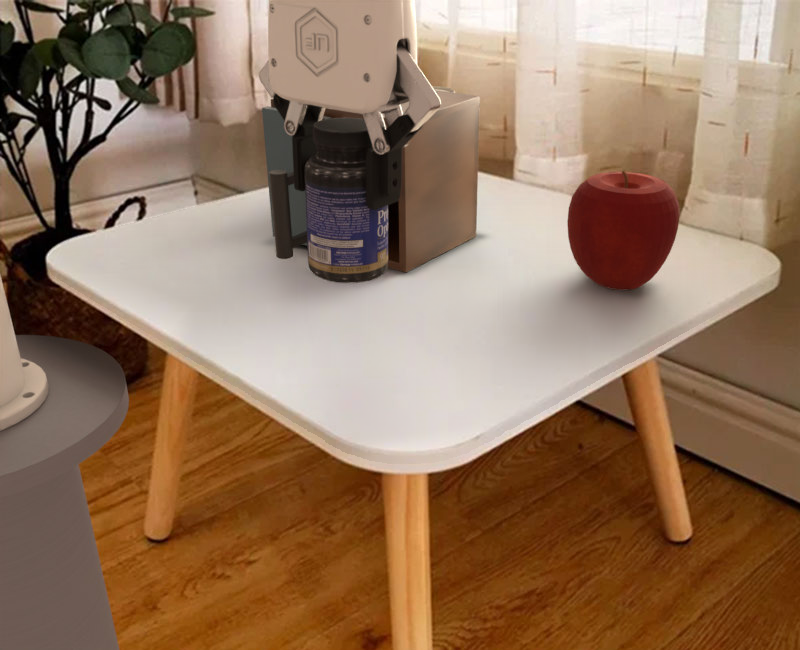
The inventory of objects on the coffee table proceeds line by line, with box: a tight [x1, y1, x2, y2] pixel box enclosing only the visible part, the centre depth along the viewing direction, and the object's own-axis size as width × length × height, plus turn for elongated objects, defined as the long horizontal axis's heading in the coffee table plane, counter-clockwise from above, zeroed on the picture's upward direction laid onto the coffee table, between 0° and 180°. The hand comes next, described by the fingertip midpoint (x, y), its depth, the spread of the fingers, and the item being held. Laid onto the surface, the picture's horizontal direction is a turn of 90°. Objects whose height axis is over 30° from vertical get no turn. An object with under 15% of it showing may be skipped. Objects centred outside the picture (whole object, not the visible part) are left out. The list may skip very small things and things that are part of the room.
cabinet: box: [270, 90, 481, 273], centre depth 93 cm, size 12×16×14 cm
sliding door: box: [261, 106, 331, 260], centre depth 88 cm, size 7×8×13 cm
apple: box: [567, 170, 681, 291], centre depth 83 cm, size 10×10×10 cm
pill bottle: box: [304, 118, 388, 284], centre depth 69 cm, size 6×6×11 cm
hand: (346, 193), depth 69 cm, fingers closed on pill bottle, 6 cm apart
